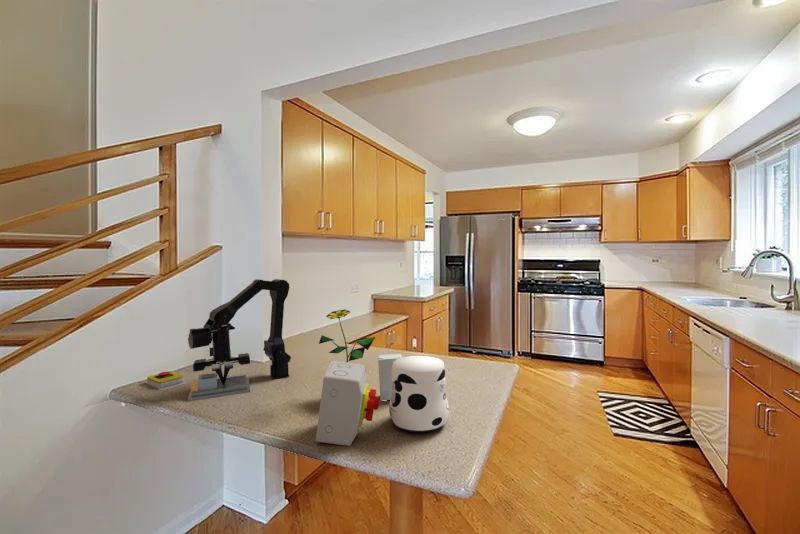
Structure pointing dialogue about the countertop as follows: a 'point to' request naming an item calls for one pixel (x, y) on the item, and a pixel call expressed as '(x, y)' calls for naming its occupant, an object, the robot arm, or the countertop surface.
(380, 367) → the skincare box
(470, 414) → the countertop surface
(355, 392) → the electrical switch box
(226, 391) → the rail plate
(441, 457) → the countertop surface
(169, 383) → the emergency button
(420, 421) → the cow print canister
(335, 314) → the potted plant
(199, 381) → the block
